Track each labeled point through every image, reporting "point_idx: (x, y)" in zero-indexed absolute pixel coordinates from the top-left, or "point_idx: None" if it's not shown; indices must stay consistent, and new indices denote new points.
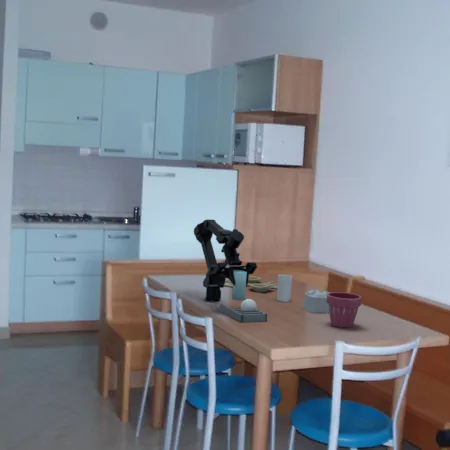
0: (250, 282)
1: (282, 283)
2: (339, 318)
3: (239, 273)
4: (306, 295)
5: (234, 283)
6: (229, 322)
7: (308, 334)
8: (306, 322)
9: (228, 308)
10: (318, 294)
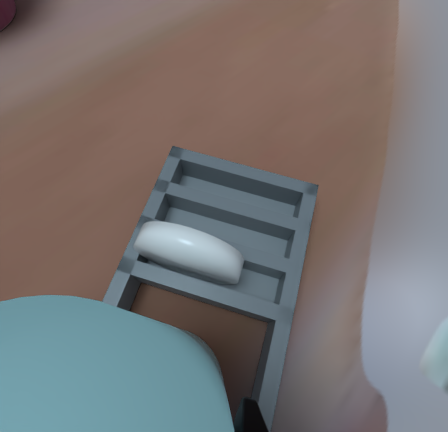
0: None
1: None
2: None
3: (198, 370)
4: None
5: (256, 404)
6: (360, 227)
7: (194, 3)
8: (44, 85)
9: (285, 353)
10: None
